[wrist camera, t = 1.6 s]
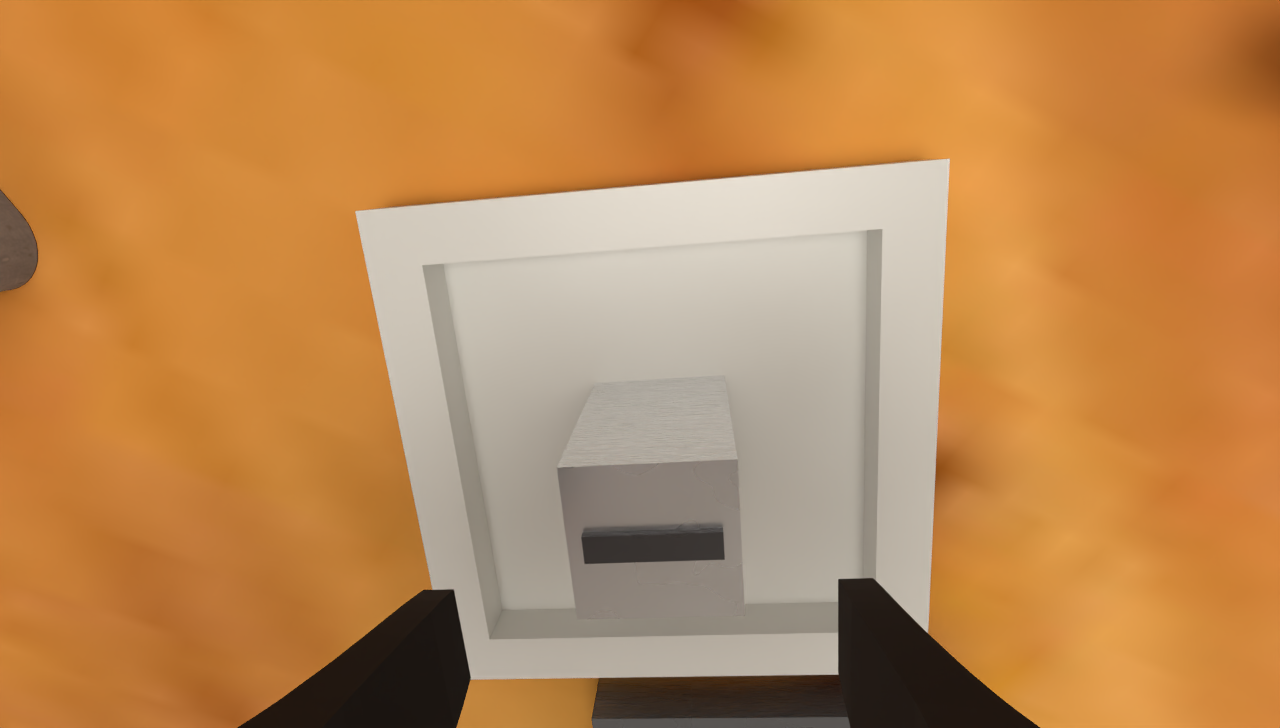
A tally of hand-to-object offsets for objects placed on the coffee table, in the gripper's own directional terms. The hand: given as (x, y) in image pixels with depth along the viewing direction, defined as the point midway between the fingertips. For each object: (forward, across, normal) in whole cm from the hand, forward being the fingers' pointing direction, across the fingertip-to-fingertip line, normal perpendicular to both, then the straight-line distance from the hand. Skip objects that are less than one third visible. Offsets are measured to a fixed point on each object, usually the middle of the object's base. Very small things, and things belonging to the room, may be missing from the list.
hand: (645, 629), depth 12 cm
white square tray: (+9, 0, 0) cm, 9 cm away
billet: (+9, 0, 0) cm, 9 cm away
